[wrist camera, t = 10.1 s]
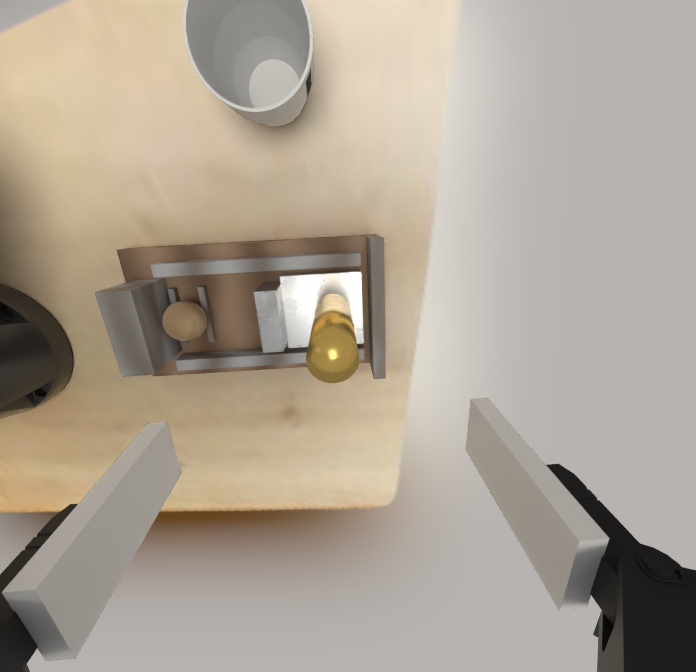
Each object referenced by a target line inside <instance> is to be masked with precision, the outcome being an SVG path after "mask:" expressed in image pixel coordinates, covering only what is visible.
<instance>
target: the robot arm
mask: <svg viewBox="0 0 696 672" xmlns="http://www.w3.org/2000/svg"><path fill="white" fill-rule="evenodd" d="M72 366H73V359H72V352H71V348H70V345H69V342H68V340H67V337H66V335H65V333H64V332H63V330H62V328H61V327H60V326H59V324H58V323H57V322H56V320H55V319H54V318H53V317H52V316H51V315H50V314H49V313H48V312H47V311H46V310H45V309H44V308H43V307H42V306H41V305H39V304H38V303H37V302H35V301H34V300H33V299H31V298H29V297H28V296H26V295H24V294H23V293H21V292H19V291H17V290H14V289H12V288H9V287H7V286H4V285H0V419H1V418H4V417H8V416H11V415H15V414H18V413H22V412H25V411H28V410H31V409H33V408H36V407H38V406H40V405H41V404H43V403H44V402H46V401H48V400H49V399H51V398H52V397H54V396H55V395H57V394H58V393H59V392H60V391H61V390H62V389H63V388H64V387H65V386H66V384H67V383H68V381H69V379H70V376H71V372H72ZM466 451H467V453H468V455H469V456H470V458H471V460H472V462H473V463H474V465H475V467H476V468H477V470H478V472H479V474H480V475H481V477H482V479H483V480H484V482H485V484H486V486H487V487H488V489H489V490H490V493H491V494H492V496H493V498H494V499H495V501H496V503H497V505H498V506H499V508H500V510H501V511H502V513H503V515H504V517H505V518H506V520H507V522H508V524H509V525H510V527H511V529H512V530H513V532H514V534H515V536H516V537H517V539H518V541H519V542H520V544H521V546H522V547H523V549H524V551H525V553H526V555H527V556H528V558H529V560H530V561H531V563H532V565H533V567H534V568H535V570H536V572H537V574H538V575H539V577H540V579H541V581H542V582H543V584H544V586H545V587H546V589H547V591H548V592H549V594H550V596H551V598H552V599H553V601H554V603H555V604H556V606H557V608H558V610H559V611H560V612H561V611H572V610H581V609H587V606H588V602H589V599H590V596H591V595H592V597H593V598H594V600H595V601H596V602H597V604H598V605H599V607H600V608H601V609H602V611H601V614H600V617H599V619H598V623H597V625H596V628H595V631H594V635H595V636H596V637H599V640H598V664H597V672H696V570H691V569H687V568H683V567H681V566H680V565H679V564H678V563H677V562H676V561H674V560H673V559H671V558H670V557H669V556H668V555H666V554H665V553H663V552H660V551H659V550H657V549H655V548H653V547H650V546H646V545H643V544H640V543H639V542H638V541H637V540H636V539H635V538H634V537H633V536H632V535H631V534H630V533H629V532H628V530H626V528H625V527H624V526H623V525H622V524H621V523H620V522H619V521H618V520H617V519H616V518H615V517H614V516H613V514H611V512H610V511H609V510H608V509H607V508H606V507H605V506H604V505H603V504H602V503H601V502H600V501H598V500H597V498H596V497H595V495H594V494H593V493H592V492H591V491H590V490H587V488H586V486H585V485H584V484H583V483H582V482H581V481H580V480H579V478H577V476H576V475H575V474H573V473H572V472H570V471H569V470H567V469H565V468H564V467H563V466H561V465H560V464H552V465H546V464H545V463H544V462H543V461H542V460H541V459H540V458H539V456H538V455H537V454H536V453H535V452H534V451H533V449H532V448H531V447H530V446H529V445H528V444H527V443H526V441H525V440H524V439H523V438H522V437H521V436H520V435H519V433H518V432H517V431H516V430H515V429H514V428H513V426H512V425H511V424H510V423H509V422H508V421H507V419H506V418H505V417H504V416H503V415H502V414H501V413H500V411H499V410H498V409H497V408H496V407H495V405H494V404H493V403H492V402H491V401H490V400H489V399H488V398H478V399H471V402H470V412H469V423H468V433H467V443H466ZM181 473H182V472H181V468H180V465H179V461H178V458H177V455H176V451H175V448H174V444H173V441H172V437H171V434H170V431H169V427H168V424H167V421H165V422H152V423H148V424H147V425H146V426H145V427H144V429H143V430H142V431H141V432H140V433H139V434H138V435H137V437H136V438H135V439H134V440H133V441H132V442H131V444H130V445H129V446H128V447H127V448H126V449H125V450H124V452H123V453H122V454H121V455H120V456H119V457H118V459H117V460H116V461H115V462H114V463H113V464H112V466H111V467H110V468H109V469H108V470H107V471H106V472H105V474H104V475H103V476H102V477H101V478H100V479H99V481H98V482H97V483H96V484H95V485H94V486H93V487H92V489H91V490H90V491H89V492H88V493H87V494H86V496H85V497H84V498H83V499H82V500H81V501H80V502H79V504H70V505H69V506H67V507H66V508H65V509H63V510H62V511H61V512H59V513H58V514H57V515H55V516H54V517H53V518H52V519H51V520H50V521H49V522H48V523H47V524H46V525H45V526H44V527H43V528H42V530H41V531H40V532H39V533H38V534H37V537H34V538H33V539H32V541H31V542H30V543H29V544H28V545H27V546H26V547H25V550H24V551H22V552H21V553H20V554H19V555H18V556H17V557H16V558H15V559H14V560H13V562H11V564H10V565H9V566H8V567H7V568H6V569H5V570H4V571H3V572H2V573H1V575H0V672H30V671H29V668H28V666H27V662H28V661H29V659H30V658H31V656H32V655H33V654H34V652H35V650H36V649H37V648H38V650H39V651H40V653H41V654H42V656H43V658H44V659H45V661H54V660H63V659H74V658H76V657H77V655H78V653H79V652H80V650H81V648H82V646H83V645H84V643H85V641H86V639H87V638H88V636H89V634H90V632H91V630H92V629H93V627H94V625H95V624H96V622H97V620H98V618H99V617H100V615H101V613H102V611H103V610H104V608H105V606H106V604H107V603H108V601H109V599H110V597H111V595H112V594H113V592H114V590H115V588H116V587H117V585H118V583H119V581H120V580H121V578H122V576H123V574H124V573H125V571H126V569H127V567H128V566H129V564H130V562H131V560H132V559H133V557H134V555H135V553H136V552H137V550H138V548H139V546H140V544H141V543H142V541H143V539H144V537H145V536H146V534H147V532H148V531H149V529H150V527H151V525H152V524H153V522H154V520H155V518H156V517H157V515H158V513H159V511H160V510H161V508H162V506H163V504H164V503H165V501H166V499H167V497H168V496H169V494H170V492H171V490H172V489H173V487H174V485H175V483H176V482H177V480H178V478H179V476H180V475H181Z"/></svg>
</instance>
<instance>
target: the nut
mask: <svg viewBox="0 0 696 672" xmlns="http://www.w3.org/2000/svg"><path fill="white" fill-rule="evenodd" d="M162 324H163V327H164V329H165V331H166V332H167V334H169V335H170V336H171V337H172V338H174V339H177V340H181V341H190V340H193V339H196V338H197V337H199V336H200V335H201V334H202V333H203V332H204V330H205V328H206V325H207V317H206V314H205V312H204V311H203V309H202V308H201V307H200V306H199V305H197V304H195V303H193V302H190V301H179V302H175V303H173V304H171V305H170V306H169V307H168V308H167V309H166V310H165V312H164V314H163V317H162Z"/></svg>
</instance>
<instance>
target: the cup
mask: <svg viewBox="0 0 696 672" xmlns="http://www.w3.org/2000/svg"><path fill="white" fill-rule="evenodd" d="M183 34H184V41H185V45H186V49H187V52H188V55H189V58H190V61H191V63H192V65H193V67H194V69H195V71H196V73H197V75H198V76H199V78H200V79H201V81H202V82H203V83H204V85H205V86H206V87H207V88H208V89H209V90H210V91H211V92H212V93H213V94H214V95H215V96H216V97H217V98H219V99H220V100H221V101H223V102H224V103H225V104H227V105H228V106H229V107H231V108H232V109H233V110H234V111H236V112H237V113H238V114H240V115H241V116H243V117H245V118H246V119H249V120H251V121H254V122H257V123H260V124H263V125H266V126H282V125H285V124H288V123H290V122H291V121H293V120H294V119H295V118H296V117H297V116H298V115H299V114H300V113H301V111H302V110H303V108H304V106H305V104H306V102H307V99H308V95H309V91H310V88H311V84H312V79H313V31H312V23H311V18H310V14H309V11H308V7H307V5H306V2H305V0H185V2H184V8H183Z"/></svg>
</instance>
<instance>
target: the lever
mask: <svg viewBox="0 0 696 672" xmlns="http://www.w3.org/2000/svg"><path fill="white" fill-rule="evenodd" d="M254 296H255V303H256V309H257V316H258V322H259V329H260V336H261V342H262V349H263V353H267V352H284V350H285V347H286V344H287V342H288V348H298V347H308V349H307V354H306V363H307V367H308V369H309V371H310V372H311V373H312V375H313V376H315V377H316V378H317V379H319V380H321V381H324V382H327V383H338V382H342V381H344V380H346V379H348V378H349V377H351V376H352V375H353V374H354V372H355V371H356V369H357V367H358V364H359V353H358V347H357V344H363V343H364V337H363V309H362V282H361V270H360V269H357V270H339V271H321V272H304V273H286V274H281V276H280V282H265V283H263V284H262V285H261V286H260V287H259V288H257V289H256V290H255V291H254Z"/></svg>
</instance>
